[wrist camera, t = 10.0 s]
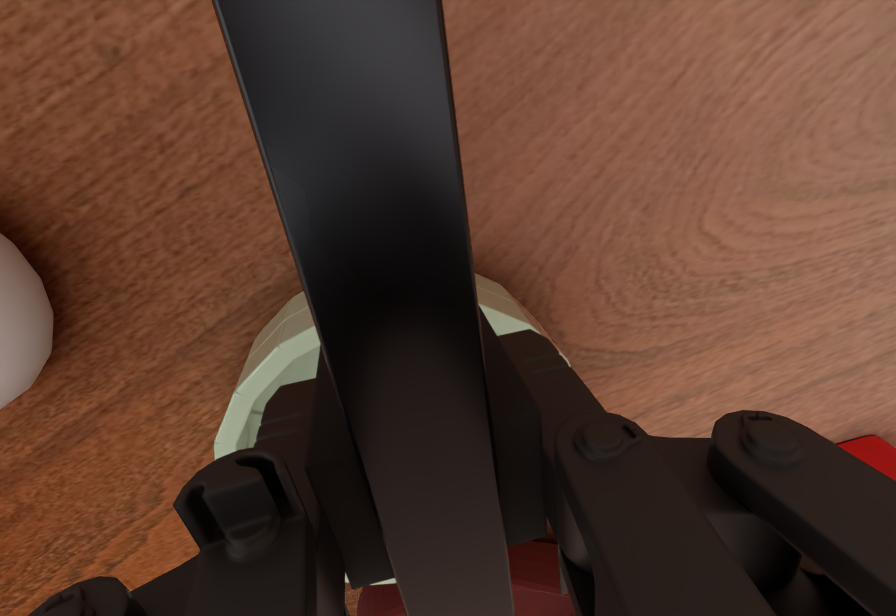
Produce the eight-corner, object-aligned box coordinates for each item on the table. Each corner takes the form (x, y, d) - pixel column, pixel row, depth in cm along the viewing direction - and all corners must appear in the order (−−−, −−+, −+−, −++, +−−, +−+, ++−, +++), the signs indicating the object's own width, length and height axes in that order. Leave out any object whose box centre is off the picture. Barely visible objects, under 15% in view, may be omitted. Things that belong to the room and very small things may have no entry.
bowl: (189, 293, 19) (140, 354, 15) (536, 224, 21) (586, 260, 16) (297, 530, 26) (286, 619, 22) (548, 464, 28) (585, 534, 23)
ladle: (258, 57, 14) (-93, -74, 3) (424, 34, 14) (641, -151, 3) (389, 507, 23) (421, 870, 12) (486, 482, 24) (597, 809, 13)
